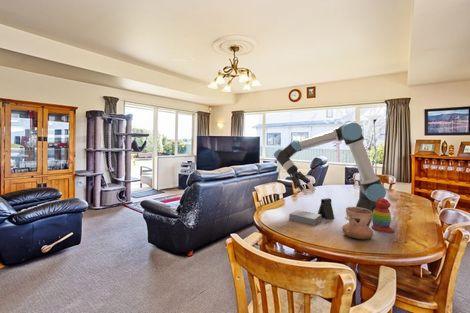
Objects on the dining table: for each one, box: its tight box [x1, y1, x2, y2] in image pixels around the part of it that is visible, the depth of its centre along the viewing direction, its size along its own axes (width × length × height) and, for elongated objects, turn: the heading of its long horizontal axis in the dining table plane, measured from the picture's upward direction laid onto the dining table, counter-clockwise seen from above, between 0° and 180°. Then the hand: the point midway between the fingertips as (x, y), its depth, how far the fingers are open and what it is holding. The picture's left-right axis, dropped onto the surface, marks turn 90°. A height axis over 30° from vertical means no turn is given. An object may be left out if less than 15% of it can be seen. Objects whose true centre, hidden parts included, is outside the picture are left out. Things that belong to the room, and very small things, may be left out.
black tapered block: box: [317, 197, 335, 220], centre depth 164 cm, size 9×6×12 cm, turn 25°
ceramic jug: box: [341, 206, 374, 240], centre depth 132 cm, size 18×14×14 cm
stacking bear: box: [371, 197, 395, 234], centre depth 143 cm, size 11×10×18 cm
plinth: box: [288, 209, 322, 226], centre depth 159 cm, size 16×12×4 cm
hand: (310, 192), depth 170 cm, fingers open, 13 cm apart
